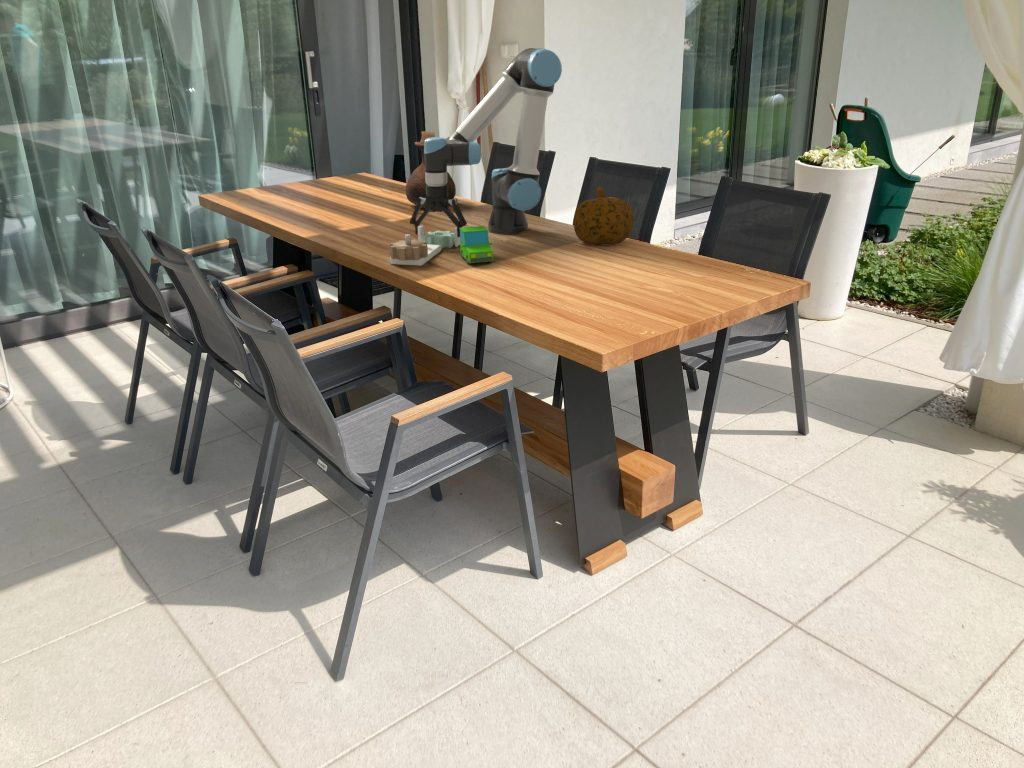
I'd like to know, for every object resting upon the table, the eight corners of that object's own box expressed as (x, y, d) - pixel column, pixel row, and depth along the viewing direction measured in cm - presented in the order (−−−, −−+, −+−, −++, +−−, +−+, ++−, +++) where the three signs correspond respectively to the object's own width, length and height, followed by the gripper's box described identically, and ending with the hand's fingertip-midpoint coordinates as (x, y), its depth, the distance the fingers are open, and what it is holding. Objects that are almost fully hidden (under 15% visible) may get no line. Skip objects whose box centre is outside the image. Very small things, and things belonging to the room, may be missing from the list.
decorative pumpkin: (636, 247, 286) (633, 188, 279) (575, 252, 288) (571, 193, 281) (632, 236, 305) (630, 180, 298) (575, 240, 307) (571, 185, 300)
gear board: (443, 250, 288) (441, 224, 285) (420, 267, 268) (419, 240, 264) (409, 249, 291) (407, 223, 287) (384, 265, 271) (382, 238, 267)
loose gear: (458, 242, 299) (457, 231, 298) (449, 249, 290) (448, 238, 288) (430, 241, 302) (430, 230, 300) (421, 247, 292) (420, 236, 291)
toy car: (466, 267, 268) (465, 236, 264) (457, 257, 280) (456, 228, 276) (497, 264, 271) (496, 234, 267) (487, 255, 283) (486, 225, 279)
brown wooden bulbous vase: (466, 204, 364) (464, 132, 352) (437, 212, 347) (433, 138, 336) (427, 199, 375) (423, 130, 363) (396, 207, 358) (391, 135, 346)
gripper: (474, 183, 288) (475, 244, 296) (406, 181, 293) (409, 240, 302) (468, 187, 281) (469, 249, 289) (398, 184, 287) (402, 245, 295)
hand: (438, 245), depth 296 cm, fingers open, 13 cm apart
